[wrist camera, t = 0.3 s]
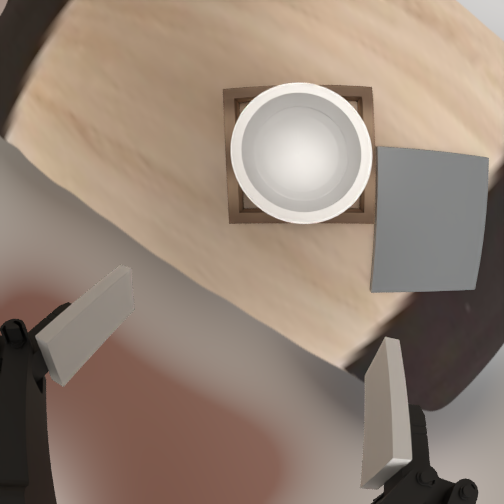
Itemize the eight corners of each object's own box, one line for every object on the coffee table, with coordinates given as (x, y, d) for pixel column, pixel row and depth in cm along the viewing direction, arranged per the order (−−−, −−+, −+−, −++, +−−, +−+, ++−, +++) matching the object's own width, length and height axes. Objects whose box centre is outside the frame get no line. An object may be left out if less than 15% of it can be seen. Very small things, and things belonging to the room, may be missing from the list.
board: (375, 146, 34) (377, 146, 33) (484, 157, 32) (488, 157, 31) (369, 289, 39) (371, 292, 38) (471, 286, 37) (474, 289, 36)
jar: (359, 176, 35) (395, 190, 21) (281, 212, 38) (269, 247, 24) (319, 95, 33) (331, 59, 19) (241, 133, 36) (204, 120, 22)
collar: (228, 94, 35) (222, 89, 32) (366, 92, 32) (371, 87, 29) (234, 218, 39) (229, 223, 36) (368, 218, 37) (374, 223, 34)
